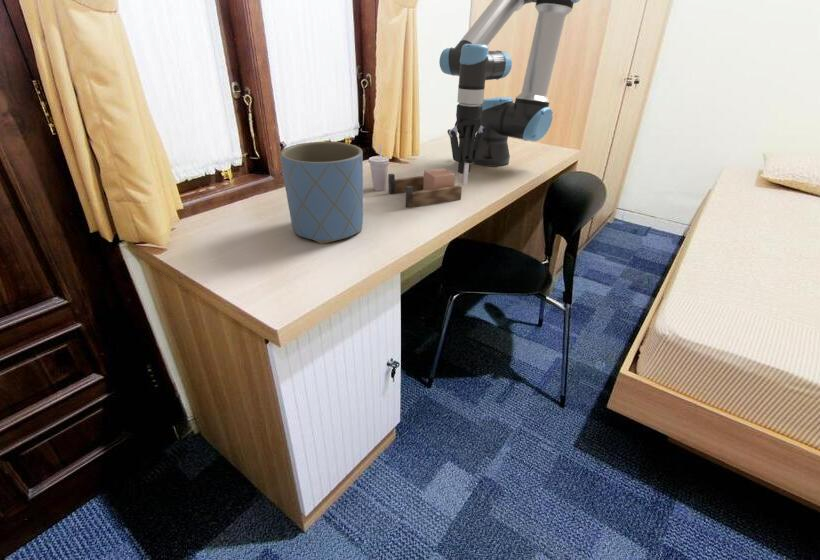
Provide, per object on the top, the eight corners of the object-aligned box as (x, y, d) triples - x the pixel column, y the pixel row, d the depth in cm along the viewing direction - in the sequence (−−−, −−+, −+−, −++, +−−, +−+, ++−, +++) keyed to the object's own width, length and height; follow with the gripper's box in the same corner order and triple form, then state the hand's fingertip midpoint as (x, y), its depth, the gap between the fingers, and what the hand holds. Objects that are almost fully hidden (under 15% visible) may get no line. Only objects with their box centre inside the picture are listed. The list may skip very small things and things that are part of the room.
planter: (380, 230, 112) (379, 152, 102) (318, 253, 101) (309, 168, 90) (336, 209, 124) (331, 137, 113) (276, 228, 112) (264, 149, 102)
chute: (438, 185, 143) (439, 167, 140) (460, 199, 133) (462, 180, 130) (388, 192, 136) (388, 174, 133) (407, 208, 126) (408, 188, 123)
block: (442, 189, 141) (443, 168, 137) (453, 196, 135) (455, 174, 132) (423, 192, 138) (423, 170, 134) (433, 199, 133) (434, 177, 129)
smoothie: (386, 193, 136) (386, 147, 129) (367, 191, 137) (365, 146, 130) (391, 186, 142) (391, 142, 135) (372, 184, 143) (371, 141, 136)
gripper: (481, 101, 132) (473, 177, 144) (444, 103, 127) (439, 181, 139) (495, 104, 126) (486, 183, 138) (457, 107, 121) (451, 189, 133)
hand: (463, 182), depth 139 cm, fingers closed
